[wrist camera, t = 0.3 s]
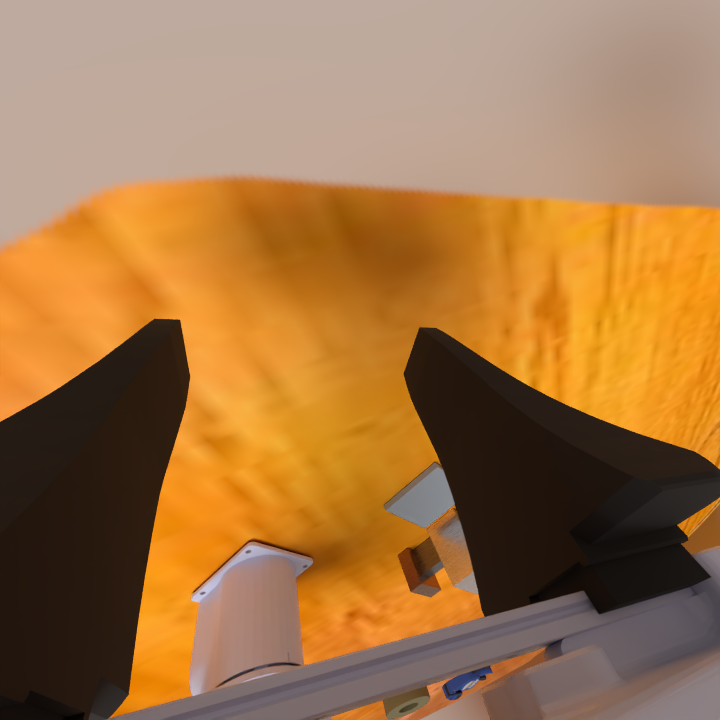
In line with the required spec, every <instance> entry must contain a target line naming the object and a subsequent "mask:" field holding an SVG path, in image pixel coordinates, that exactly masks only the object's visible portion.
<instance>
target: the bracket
mask: <svg viewBox="0 0 720 720" xmlns="http://www.w3.org/2000/svg"><path fill="white" fill-rule="evenodd" d="M427 531H428V533H429V535H430V538H431V540H432V542H433V544H434V546H435V548H436V551H437V553H438V555H439V557H440V559H441V561H442V564H443V566H444V568H445V570H446V572H447V574H448V576H449V579H450V581H451V583H452V585H453V587H456V588H459V589H462V590H465V591H468V592H472V593H475V594H478V589H477V585H476V581H475V576H474V572H473V568H472V564H471V559H470V555H469V552H468V548H467V544H466V541H465V537H464V533H463V530H462V526H461V523H460V519H459V516H458V513H457V511H456V510H454V509H452V510H450V511H449V512H448V513H447V514H445V515H444V516H443V517H442V518H440V519H439V520H438V521H437V522H435V523H434V524H433V525H431V526H430V527H429V528H428V529H427Z"/></svg>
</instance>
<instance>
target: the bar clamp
mask: <svg viewBox="0 0 720 720" xmlns="http://www.w3.org/2000/svg"><path fill="white" fill-rule="evenodd" d="M489 673H493V672H492V670H491V668H490V666H486V667H483V668H480V669H477V670H474V671H471V672H468V673H465V674H462V675H458V676H457V677H455V678H453V679H452V680H450V681H448V682H447V683H445V684H444V685H443V687H442V688H443V691H444V693H445V696H446V698H447V699H449V700H455V699H458V698H459V697H460V696H461V695H462V691H464V690H467V689H471V688H472V687H473V686H474V685H475V684H476V683H477V682H478V681H479V680H485V679H486V676H485V675H486V674H489Z"/></svg>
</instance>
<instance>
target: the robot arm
mask: <svg viewBox="0 0 720 720" xmlns="http://www.w3.org/2000/svg"><path fill="white" fill-rule="evenodd" d="M404 377H405V380H406V384H407V388H408V391H409V394H410V397H411V400H412V402H413V404H414V406H415V409H416V411H417V413H418V415H419V417H420V419H421V422H422V424H423V426H424V428H425V430H426V432H427V434H428V436H429V438H430V440H431V443H432V445H433V447H434V449H435V451H436V453H437V455H438V458H439V460H440V463H441V465H442V468H443V471H444V473H445V476H446V479H447V482H448V485H449V488H450V491H451V494H452V497H453V500H454V503H455V506H456V510H457V513H458V516H459V519H460V523H461V526H462V530H463V533H464V537H465V541H466V544H467V548H468V552H469V555H470V559H471V564H472V568H473V572H474V576H475V581H476V585H477V589H478V594H479V598H480V603H481V608H482V611H483V614H484V616H485V617H484V618H480V619H476V620H472V621H469V622H465V623H461V624H458V625H454V626H450V627H446V628H443V629H439V630H435V631H432V632H428V633H424V634H421V635H417V636H413V637H409V638H406V639H402V640H398V641H395V642H391V643H387V644H384V645H380V646H376V647H372V648H369V649H365V650H361V651H358V652H354V653H350V654H346V655H343V656H339V657H335V658H332V659H328V660H324V661H321V662H317V663H313V664H309V665H304V660H303V649H302V638H301V627H300V616H299V605H298V594H297V583H296V578H297V577H298V576H299V575H300V574H301V573H302V572H304V571H305V570H306V569H307V568H308V567H310V566H311V565H312V564H313V559H312V558H310V557H307V556H303V555H299V554H296V553H292V552H289V551H285V550H282V549H278V548H275V547H271V546H268V545H264V544H261V543H257V542H249V543H248V544H247V545H245V546H244V547H243V548H242V549H241V550H240V551H239V552H238V553H237V554H236V555H235V556H234V557H232V558H231V559H230V560H229V561H228V562H227V563H226V564H225V565H224V566H223V567H222V568H220V569H219V570H218V571H217V572H216V573H215V574H214V575H213V576H212V577H211V578H210V579H208V580H207V581H206V582H205V583H204V584H203V585H202V586H201V587H200V588H199V589H198V590H197V591H195V592H194V593H193V594H192V596H191V600H192V601H194V602H199V608H198V616H197V623H196V630H195V637H194V645H193V652H192V659H191V666H190V677H189V680H190V689H191V693H192V696H191V697H187V698H183V699H180V700H176V701H172V702H169V703H165V704H161V705H158V706H154V707H150V708H146V709H143V710H139V711H135V712H132V713H128V714H124V715H121V716H117V717H113V718H109V717H110V716H111V715H112V714H113V713H114V712H115V711H116V710H117V709H118V707H119V706H120V705H121V704H122V703H123V701H124V700H125V699H126V697H127V696H128V695H129V687H130V679H131V671H132V663H133V655H134V648H135V640H136V633H137V625H138V618H139V612H140V605H141V599H142V592H143V586H144V579H145V573H146V567H147V561H148V555H149V549H150V543H151V538H152V532H153V527H154V521H155V516H156V511H157V506H158V500H159V495H160V491H161V487H162V483H163V480H164V476H165V473H166V470H167V466H168V463H169V460H170V457H171V453H172V450H173V447H174V444H175V440H176V437H177V434H178V431H179V427H180V424H181V421H182V417H183V414H184V410H185V407H186V401H187V395H188V388H189V381H190V373H189V368H188V362H187V356H186V351H185V345H184V339H183V334H182V328H181V322H180V320H173V319H154V320H152V321H151V322H150V323H148V324H147V325H146V326H144V327H143V328H142V329H140V330H139V331H138V332H137V333H135V334H134V335H133V336H131V337H130V338H129V339H128V340H126V341H125V342H124V343H122V344H121V345H120V346H118V347H117V348H116V349H114V350H113V351H112V352H110V353H109V354H108V355H106V356H105V357H104V358H102V359H101V360H100V361H98V362H97V363H95V364H94V365H92V366H91V367H89V368H88V369H87V370H85V371H84V372H82V373H81V374H79V375H78V376H76V377H75V378H73V379H72V380H70V381H69V382H67V383H66V384H64V385H63V386H61V387H60V388H58V389H57V390H55V391H53V392H52V393H50V394H49V395H47V396H45V397H44V398H42V399H40V400H39V401H37V402H35V403H33V404H32V405H30V406H28V407H26V408H25V409H23V410H21V411H19V412H17V413H16V414H14V415H12V416H10V417H9V418H7V419H5V420H3V421H1V422H0V720H332V718H331V716H334V715H337V714H341V713H344V712H347V711H350V710H353V709H356V708H359V707H362V706H365V705H368V704H372V703H375V702H378V701H381V700H384V699H387V698H390V697H393V696H396V695H399V694H403V693H406V692H409V691H412V690H415V689H418V688H421V687H424V686H427V685H431V684H434V683H437V682H440V681H443V680H446V679H449V678H452V677H455V676H458V675H462V674H465V673H468V672H471V671H474V670H477V669H480V668H483V667H486V666H489V665H493V664H496V663H499V662H502V661H505V660H508V659H511V658H514V657H517V656H520V655H524V654H527V653H530V652H533V651H536V650H539V649H542V648H545V647H547V648H546V649H545V653H544V658H545V662H544V663H541V664H538V665H536V666H533V667H531V668H528V669H525V670H523V671H521V672H519V673H517V674H516V675H513V676H511V677H509V678H507V679H504V680H502V681H500V682H497V683H495V684H492V685H490V686H487V687H485V688H483V689H482V693H481V695H482V697H483V700H484V703H485V706H486V709H487V711H488V714H489V717H490V720H720V546H717V547H713V548H709V549H706V550H702V551H700V552H697V553H694V554H692V555H691V554H690V553H689V552H688V551H687V550H686V549H685V548H684V547H683V546H682V545H681V543H684V542H686V541H688V536H687V535H686V534H685V533H684V532H683V531H682V530H681V529H680V528H679V527H678V526H677V525H678V524H679V523H681V522H682V521H684V520H686V519H687V518H689V517H690V516H692V515H693V514H695V513H697V512H698V511H700V510H701V509H703V508H705V507H706V506H708V505H709V504H711V503H712V502H714V501H715V500H717V499H718V498H719V497H720V469H718V468H717V467H716V466H715V465H714V464H712V463H711V462H710V461H709V460H707V459H706V458H704V457H703V456H701V455H699V454H698V453H696V452H694V451H691V450H688V449H685V448H682V447H678V446H675V445H672V444H669V443H666V442H662V441H659V440H656V439H653V438H650V437H647V436H643V435H641V434H638V433H635V432H632V431H629V430H627V429H624V428H621V427H618V426H616V425H613V424H610V423H608V422H605V421H603V420H600V419H598V418H595V417H593V416H590V415H588V414H586V413H584V412H581V411H579V410H577V409H574V408H572V407H570V406H568V405H565V404H563V403H561V402H559V401H557V400H555V399H553V398H551V397H549V396H547V395H545V394H543V393H541V392H539V391H537V390H535V389H533V388H532V387H530V386H528V385H526V384H524V383H523V382H521V381H519V380H517V379H516V378H514V377H512V376H511V375H509V374H507V373H506V372H504V371H502V370H501V369H499V368H498V367H496V366H495V365H493V364H491V363H490V362H488V361H487V360H485V359H484V358H482V357H481V356H479V355H478V354H476V353H475V352H473V351H472V350H470V349H469V348H467V347H466V346H464V345H463V344H461V343H460V342H458V341H457V340H455V339H454V338H452V337H451V336H449V335H448V334H446V333H444V332H442V331H441V330H439V329H437V328H419V331H418V334H417V336H416V339H415V342H414V345H413V348H412V351H411V354H410V357H409V360H408V363H407V366H406V368H405V371H404ZM108 718H109V719H108Z"/></svg>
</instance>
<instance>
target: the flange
mask: <svg viewBox="0 0 720 720" xmlns="http://www.w3.org/2000/svg"><path fill="white" fill-rule="evenodd" d="M429 701H430V695H429V692H428V689H427V686H424V687H421V688H418V689H415V690H412V691H409V692H406V693H403V694H399V695H396V696H393V697H390V698H387V699H384V700H383V703H384V708H385V712H386V716H387V718H388V719H395V718H399V717H403V716H405V715H408V714H410V713H412V712H414V711H416V710H418V709H420V708H421V707H423V706H424V705H426V704H427V703H428V702H429Z"/></svg>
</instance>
